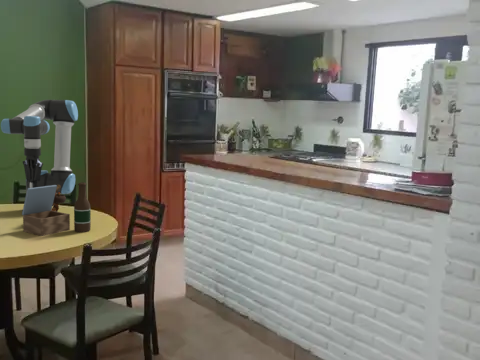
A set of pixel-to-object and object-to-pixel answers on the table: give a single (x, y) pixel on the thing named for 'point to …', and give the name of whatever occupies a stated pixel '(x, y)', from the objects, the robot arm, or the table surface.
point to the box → (46, 222)
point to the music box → (58, 199)
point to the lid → (39, 199)
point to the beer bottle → (82, 211)
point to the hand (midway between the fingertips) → (33, 195)
